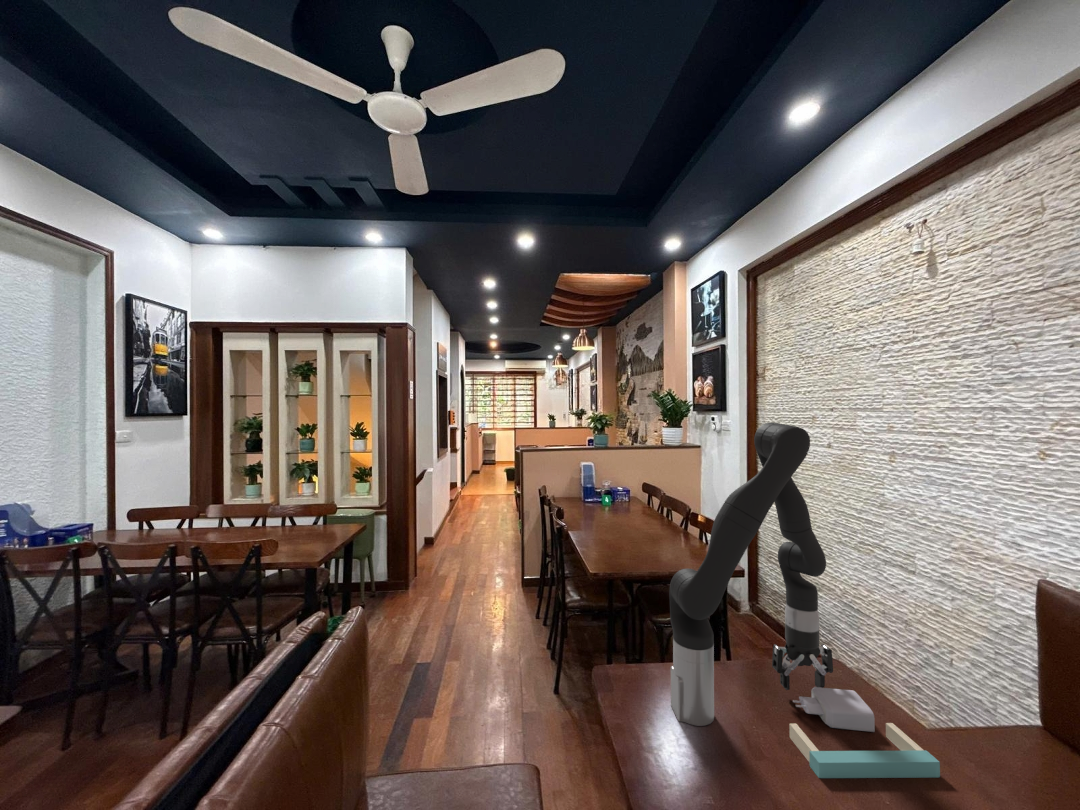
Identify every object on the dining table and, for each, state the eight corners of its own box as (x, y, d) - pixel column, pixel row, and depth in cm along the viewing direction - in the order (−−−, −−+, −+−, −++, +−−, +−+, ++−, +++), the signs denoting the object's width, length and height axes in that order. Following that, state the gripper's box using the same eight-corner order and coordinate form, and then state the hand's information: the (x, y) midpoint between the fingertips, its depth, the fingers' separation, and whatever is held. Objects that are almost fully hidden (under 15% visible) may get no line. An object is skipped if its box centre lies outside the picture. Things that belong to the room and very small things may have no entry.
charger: (786, 701, 111) (852, 707, 108) (802, 727, 102) (875, 734, 99) (786, 682, 111) (852, 688, 108) (802, 706, 102) (874, 713, 99)
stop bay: (819, 778, 87) (818, 762, 87) (787, 737, 98) (787, 723, 98) (940, 777, 87) (939, 761, 87) (894, 736, 98) (894, 723, 98)
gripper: (782, 631, 109) (783, 698, 108) (839, 630, 109) (840, 697, 109) (766, 617, 116) (766, 679, 116) (819, 616, 116) (820, 679, 116)
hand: (802, 688), depth 112 cm, fingers open, 8 cm apart
